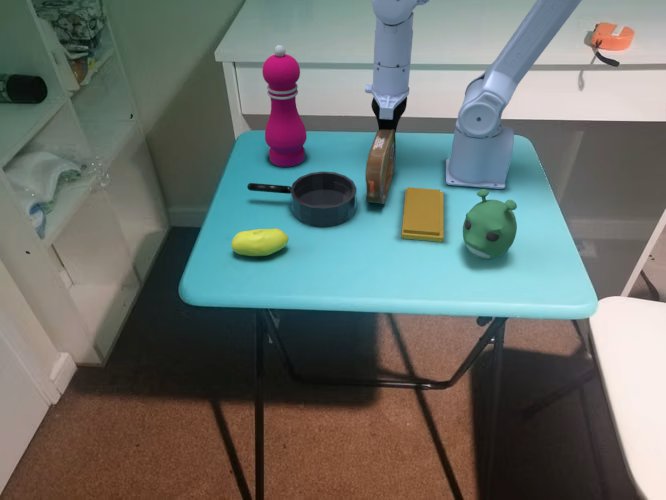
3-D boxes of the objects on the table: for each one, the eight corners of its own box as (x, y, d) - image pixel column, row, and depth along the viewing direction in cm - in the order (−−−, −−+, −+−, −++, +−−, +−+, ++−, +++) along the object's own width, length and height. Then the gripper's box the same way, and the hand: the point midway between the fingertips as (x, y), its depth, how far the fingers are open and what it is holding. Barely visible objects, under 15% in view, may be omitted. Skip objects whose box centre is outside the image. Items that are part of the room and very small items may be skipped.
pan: (359, 192, 88) (359, 174, 85) (351, 229, 80) (351, 210, 78) (299, 187, 89) (298, 169, 87) (285, 223, 81) (284, 204, 79)
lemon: (233, 244, 78) (230, 222, 75) (289, 241, 78) (287, 219, 76) (231, 263, 75) (228, 241, 72) (289, 260, 75) (287, 238, 72)
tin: (381, 214, 83) (384, 167, 78) (361, 212, 84) (363, 165, 78) (395, 165, 94) (399, 120, 89) (378, 162, 95) (380, 118, 89)
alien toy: (445, 256, 75) (455, 197, 69) (476, 231, 80) (488, 174, 73) (489, 280, 72) (503, 220, 65) (519, 253, 76) (535, 194, 69)
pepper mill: (315, 154, 97) (311, 42, 84) (292, 172, 92) (285, 57, 80) (282, 144, 100) (274, 34, 87) (258, 161, 95) (246, 48, 82)
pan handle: (293, 191, 84) (293, 184, 83) (291, 195, 83) (291, 189, 83) (248, 187, 85) (248, 181, 84) (246, 191, 84) (245, 185, 83)
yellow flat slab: (442, 195, 87) (443, 188, 86) (442, 242, 78) (444, 234, 77) (405, 192, 88) (406, 185, 87) (401, 238, 78) (402, 230, 78)
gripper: (371, 43, 89) (368, 118, 98) (361, 77, 78) (358, 159, 87) (413, 45, 89) (407, 121, 97) (409, 80, 78) (402, 162, 86)
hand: (387, 139), depth 92 cm, fingers closed
